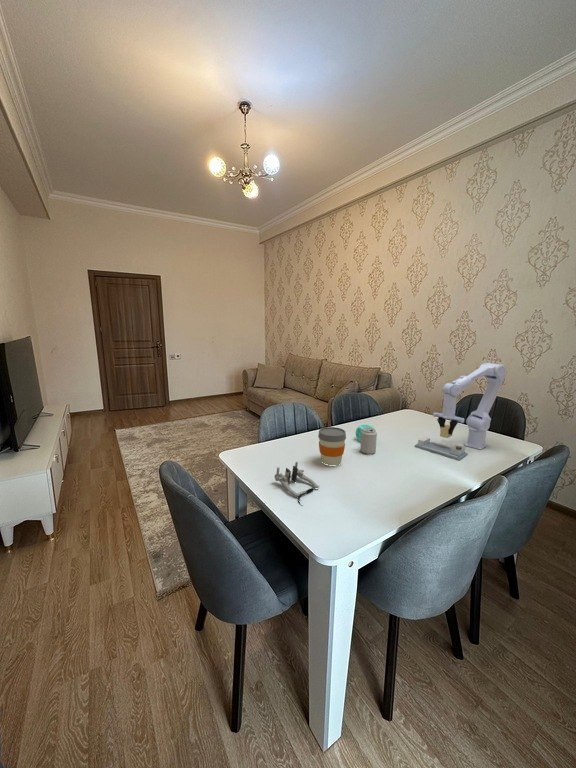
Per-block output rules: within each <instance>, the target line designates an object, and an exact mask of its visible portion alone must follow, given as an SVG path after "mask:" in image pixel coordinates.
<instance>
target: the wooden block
mask: <svg viewBox="0 0 576 768" xmlns="http://www.w3.org/2000/svg"><path fill="white" fill-rule="evenodd" d="M449 431H450V424H445V425H444V426H442V427H441V429H440V432H439V437H442V438H445V439H448V438H450V437H453V433H452V434H451V435H450V434H449Z"/></svg>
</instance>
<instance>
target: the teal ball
mask: <svg viewBox="0 0 576 768" xmlns="http://www.w3.org/2000/svg"><path fill="white" fill-rule="evenodd" d="M367 427H368V428H374V429H375V427H374V426H373V425H370V424H360V425H359V426H357V428H356V430H355V438H356V439H357V440H358V442H359V441H360V442H359V443H361V431H362V430H363V428H367Z"/></svg>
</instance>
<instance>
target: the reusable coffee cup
mask: <svg viewBox="0 0 576 768" xmlns="http://www.w3.org/2000/svg"><path fill="white" fill-rule="evenodd" d="M318 430H319V431H318V434H317V435H318V436H317V438H318V449H319V453H320V460H321V463H322V462H323V463H325V464H328V465H339V464H340V463H341V464H342V459H343V455H344V453H345V448H346V447H345V446H346V439H347V434H346V430H345V429H343V428H340V427H335V426H327V427H326V426H325V427H321V428H320V429H318ZM323 463H322V464H323ZM341 464H340V465H341ZM340 465H339V466H340Z"/></svg>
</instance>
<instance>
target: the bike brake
mask: <svg viewBox="0 0 576 768" xmlns="http://www.w3.org/2000/svg"><path fill="white" fill-rule="evenodd" d="M298 463H299V462H298V461H295V463H294V464H295V465H293V466H292V471H291V470H290V469H289V468H288V467H286V468H285V473H284V474H283V473H282V472H280V467H276V472H275V474H274V480H275V482H280V484H282V486H283V487H284V488H285V489H286V491H287V492H288V493H289V494H290V495H291V496H293V497H295V498H296V497H298V498H297V499H298V500H299V501H300V502H301V499H300V498H301V497H302V495H304V494H306V495H307V494H310V493H311V492H313V491H315V488H318V489H319V487H320V486H321V485H320V484H319V485H318V484H317V483H316V482H315V481H313V479H311V477H310V478H309V477H308V476H306V474H304V472H305V470H304V469H299V468H298V465H299V464H298ZM297 478H299V479H301V480H303V481H306V482H307V483H309V484H311V485H312V486H313V487H311V488H308V489H307V490H303V491H299V492H295V491H294V490H293V489H292V488H291V487H290V482H291V481H292V480H293V481H294V482H293V481H292V482H293V483H295V482H297ZM309 492H310V493H309ZM300 496H301V497H300ZM298 500H297V501H298ZM299 501H298V502H299Z"/></svg>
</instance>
